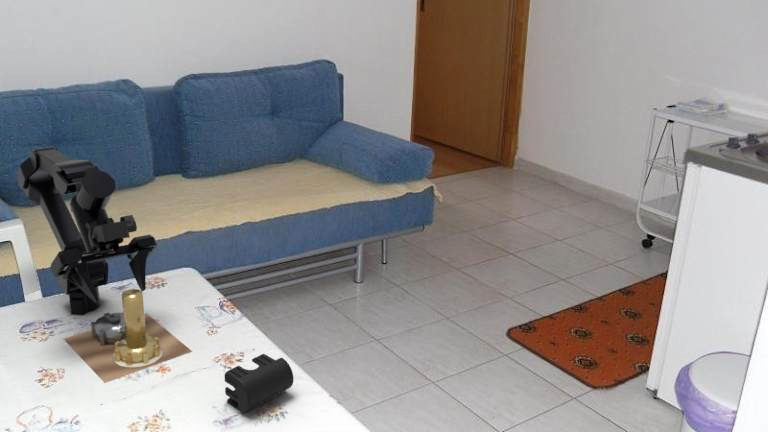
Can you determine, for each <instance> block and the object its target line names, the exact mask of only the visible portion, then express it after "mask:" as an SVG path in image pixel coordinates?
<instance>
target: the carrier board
mask: <svg viewBox="0 0 768 432" xmlns="http://www.w3.org/2000/svg"><path fill="white" fill-rule="evenodd" d="M144 315H145V326H146V334H148V336H151V337H153V338H155V337H158V338H159V345H160V348H159V350H160V355H159V356H158V357H154V358H152V359H151V360H149V363H146V364H144V363H137V364H132V365H126V363H125V362H122V361H116V360H115V353H114V350H115V345H106V346H105V347H104V346H100V343H99V342H98V341H97V340H96V338H93V336H92V329H90V330H87V331H84V332H81V333H78V334H75V335H72V336H71V335H70V336H68V337H65V338H63V341H64V342H65V343H67V344H68V345H69V347H70V348H71V349H72V350H73V351H74V352H75V353H76V354H77V355H78V356H79V357H80V359H81V360H83V361H84V363H86V365H87V366H88V367H89V368H90V369H91V370H92V371H93V372H94V373H95V375H97V376H98V377H99V378H100V379H101V380H102V382H103V383H104V384H106V383H109V382H111V381H114V380H117V379H120V378H122V377H125V376H129V375H131V374H133V373H137V372H139V371H142V370H144V369H147V368H148V369H149V368H151V367H153V366H156V365H159V364H161V363H165V362H167V361H170V360H173V359H176V358H179V357H182V356H184V355H188V354H190V353H192V352H193V350H191V349H190V348H189V347H188V346H186V344H185V343H183V342H182V341H180V340H179V339H178V338H177V337H176V336H175V335H173V334H172V333H171V332H170V331H168V330H167V329H166V328H165V327H164V326H163V325H161V324H160V323H159V322H158V321H157V320H155V319H154V318H153V317H152V316H151V315H149V314H148V313H146V312H144Z"/></svg>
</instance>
